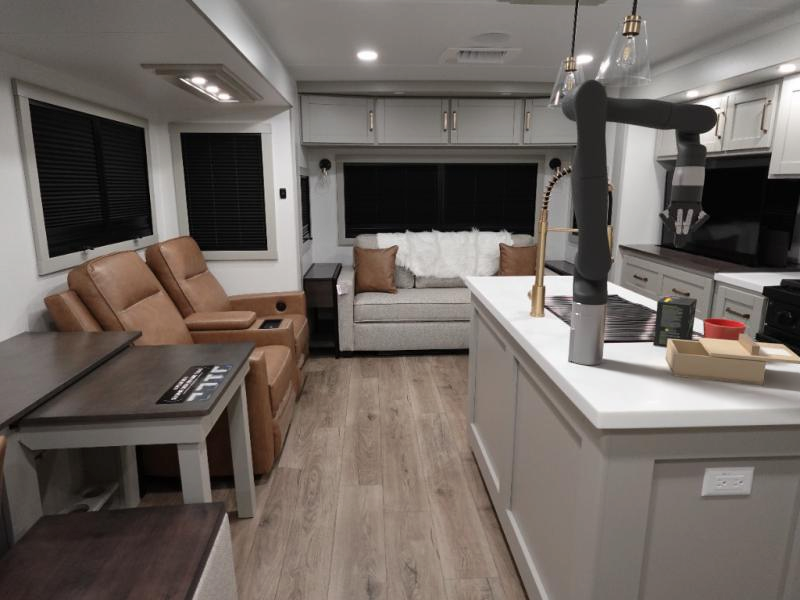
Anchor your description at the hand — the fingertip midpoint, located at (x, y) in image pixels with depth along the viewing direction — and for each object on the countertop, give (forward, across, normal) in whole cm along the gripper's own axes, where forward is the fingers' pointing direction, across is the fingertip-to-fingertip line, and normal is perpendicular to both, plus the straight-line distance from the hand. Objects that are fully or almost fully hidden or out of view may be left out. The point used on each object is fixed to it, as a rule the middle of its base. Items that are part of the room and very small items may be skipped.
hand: (679, 247), depth 144 cm
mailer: (+32, +10, -10) cm, 35 cm away
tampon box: (+32, +4, +14) cm, 36 cm away
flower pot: (+32, +16, +8) cm, 37 cm away
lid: (+26, +18, -10) cm, 33 cm away
